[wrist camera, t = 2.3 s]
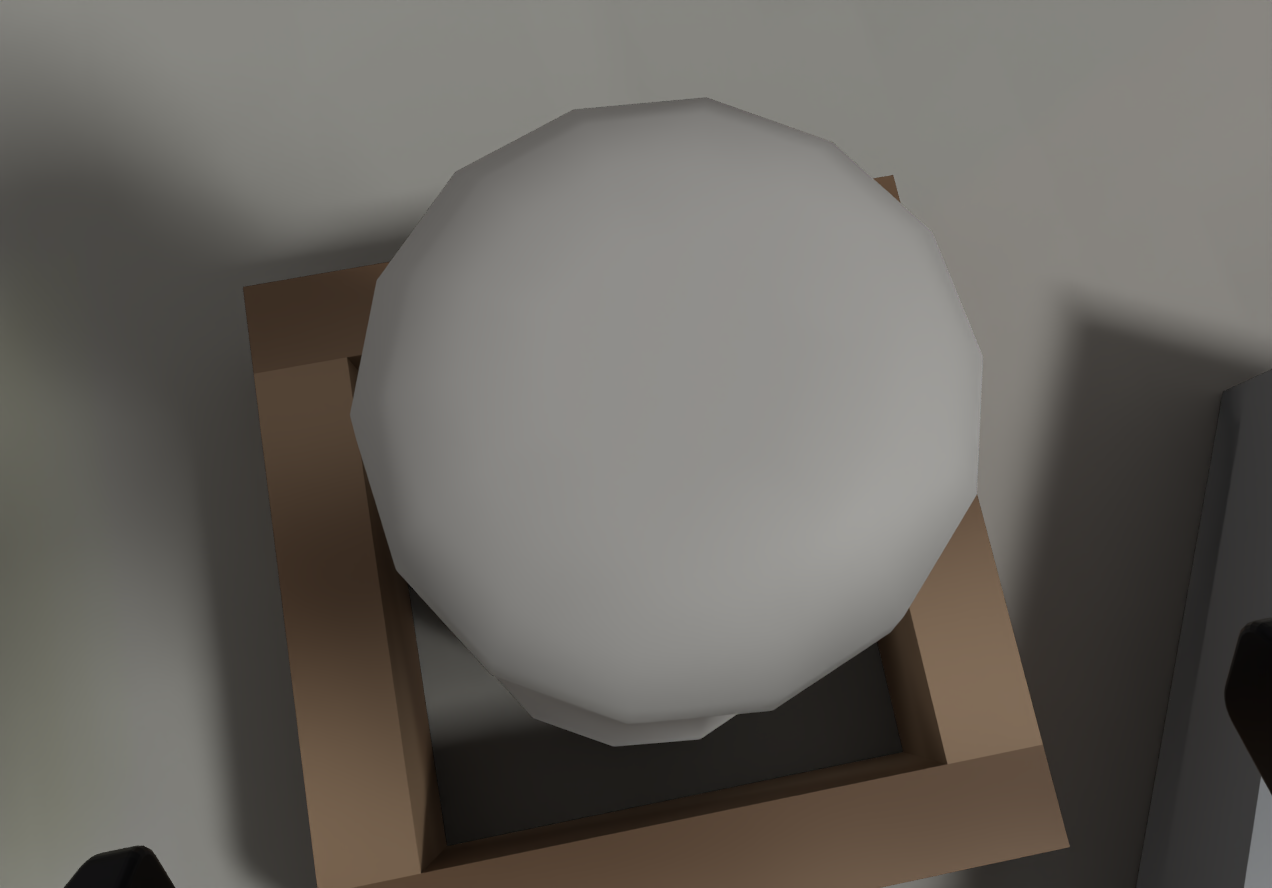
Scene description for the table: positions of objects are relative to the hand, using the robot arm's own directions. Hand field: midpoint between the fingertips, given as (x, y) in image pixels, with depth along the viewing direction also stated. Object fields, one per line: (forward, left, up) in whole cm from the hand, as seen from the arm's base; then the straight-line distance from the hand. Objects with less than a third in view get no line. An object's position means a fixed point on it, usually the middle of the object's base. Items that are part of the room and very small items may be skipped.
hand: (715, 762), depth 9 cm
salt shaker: (+2, +2, -10) cm, 11 cm away
